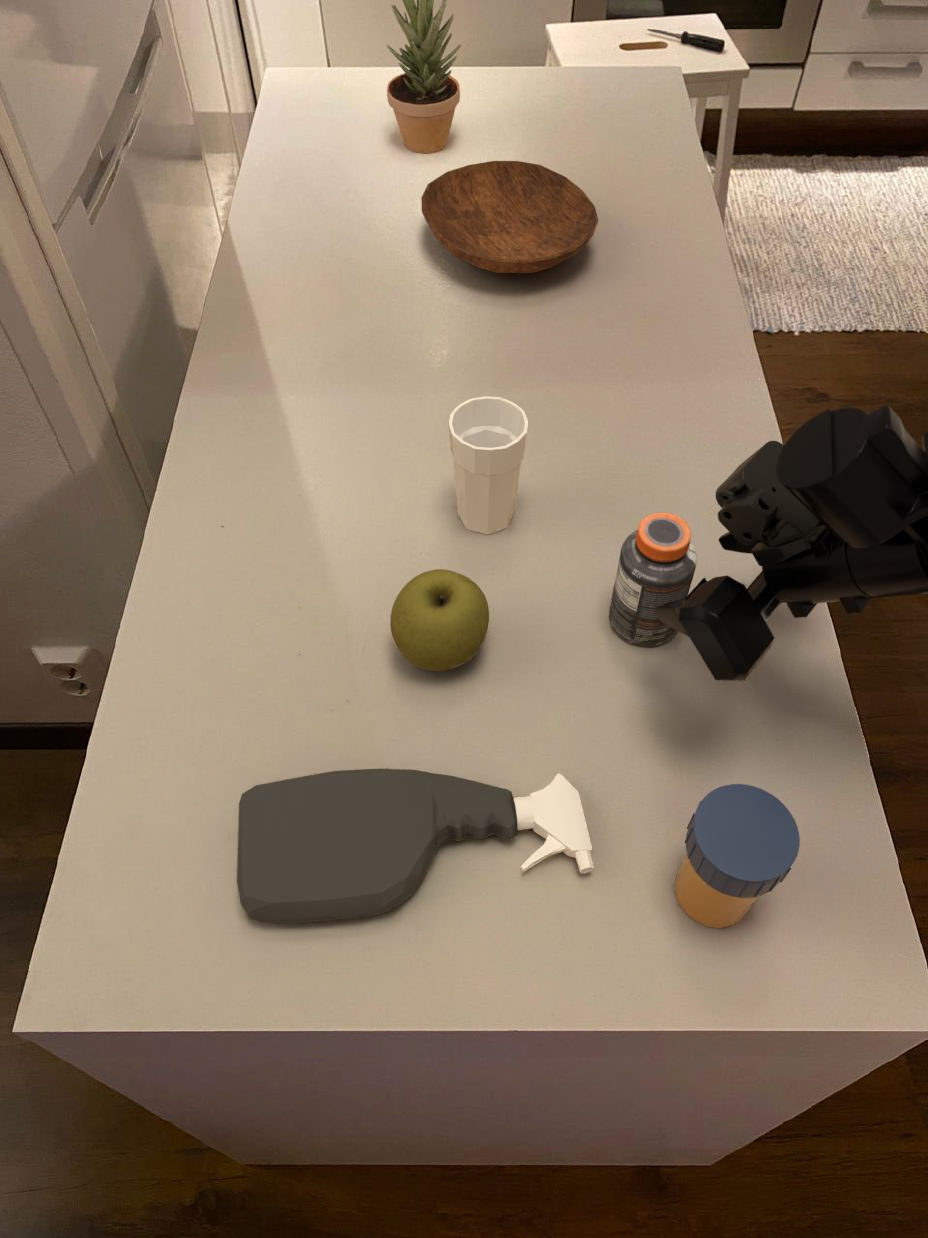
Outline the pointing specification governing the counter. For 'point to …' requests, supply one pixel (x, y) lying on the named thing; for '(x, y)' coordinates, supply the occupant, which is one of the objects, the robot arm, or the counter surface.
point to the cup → (487, 460)
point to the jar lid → (742, 840)
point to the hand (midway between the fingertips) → (690, 577)
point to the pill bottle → (651, 578)
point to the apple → (439, 620)
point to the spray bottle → (380, 837)
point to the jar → (707, 900)
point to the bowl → (509, 215)
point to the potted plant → (424, 79)
